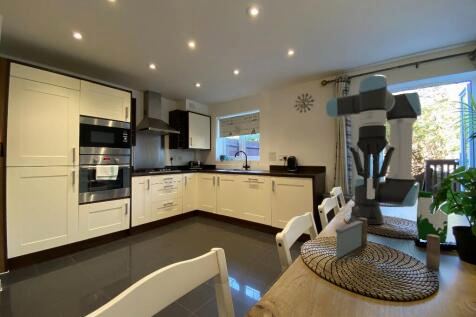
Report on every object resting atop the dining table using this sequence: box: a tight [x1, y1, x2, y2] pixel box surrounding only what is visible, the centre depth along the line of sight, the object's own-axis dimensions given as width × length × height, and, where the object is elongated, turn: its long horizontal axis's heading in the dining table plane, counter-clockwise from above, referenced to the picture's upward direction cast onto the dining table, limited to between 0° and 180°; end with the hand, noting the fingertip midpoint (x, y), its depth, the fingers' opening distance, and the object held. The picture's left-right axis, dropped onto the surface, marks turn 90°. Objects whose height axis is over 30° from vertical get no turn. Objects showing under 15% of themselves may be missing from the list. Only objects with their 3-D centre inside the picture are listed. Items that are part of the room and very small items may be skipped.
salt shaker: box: [347, 205, 359, 225], centre depth 98 cm, size 6×6×12 cm
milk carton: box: [416, 190, 449, 244], centre depth 85 cm, size 9×9×20 cm
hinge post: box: [358, 218, 368, 247], centre depth 82 cm, size 3×3×10 cm
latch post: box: [425, 234, 441, 272], centre depth 65 cm, size 3×3×10 cm
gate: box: [335, 221, 363, 258], centre depth 76 cm, size 16×2×9 cm, turn 127°
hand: (370, 198), depth 69 cm, fingers closed
